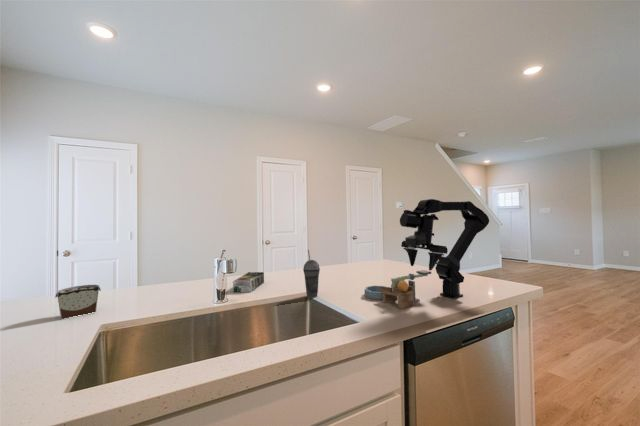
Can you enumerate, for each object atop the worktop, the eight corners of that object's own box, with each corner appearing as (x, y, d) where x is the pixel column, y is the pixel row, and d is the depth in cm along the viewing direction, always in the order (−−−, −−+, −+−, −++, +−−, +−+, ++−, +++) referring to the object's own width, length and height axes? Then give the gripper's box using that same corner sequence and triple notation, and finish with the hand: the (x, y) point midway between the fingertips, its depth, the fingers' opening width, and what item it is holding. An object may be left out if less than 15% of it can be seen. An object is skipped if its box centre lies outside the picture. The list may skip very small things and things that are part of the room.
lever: (423, 283, 110) (423, 270, 110) (431, 285, 106) (431, 271, 106) (389, 289, 101) (388, 275, 101) (396, 292, 98) (396, 277, 98)
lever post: (412, 298, 107) (411, 279, 107) (419, 301, 103) (419, 281, 103) (404, 300, 105) (404, 280, 105) (412, 303, 101) (411, 282, 101)
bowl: (379, 291, 119) (379, 284, 119) (396, 297, 109) (396, 289, 109) (360, 294, 114) (360, 287, 114) (376, 301, 104) (376, 293, 104)
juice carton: (251, 293, 121) (251, 279, 121) (231, 293, 122) (231, 280, 122) (265, 283, 141) (264, 271, 141) (247, 283, 142) (247, 271, 142)
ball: (403, 290, 101) (402, 279, 102) (411, 291, 98) (410, 280, 98) (395, 291, 99) (394, 280, 100) (403, 293, 96) (402, 282, 96)
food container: (99, 308, 105) (99, 282, 105) (100, 311, 100) (100, 285, 100) (55, 316, 96) (55, 289, 96) (55, 321, 91) (54, 292, 92)
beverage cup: (318, 299, 109) (317, 250, 110) (301, 298, 111) (300, 250, 111) (322, 294, 116) (320, 248, 117) (306, 293, 118) (305, 248, 118)
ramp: (392, 298, 108) (392, 280, 108) (414, 305, 98) (413, 286, 98) (380, 300, 105) (379, 282, 105) (400, 308, 95) (400, 289, 95)
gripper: (393, 226, 112) (389, 262, 111) (430, 228, 96) (425, 272, 95) (412, 229, 117) (408, 264, 116) (450, 232, 101) (446, 273, 100)
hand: (420, 268), depth 107 cm, fingers open, 9 cm apart
